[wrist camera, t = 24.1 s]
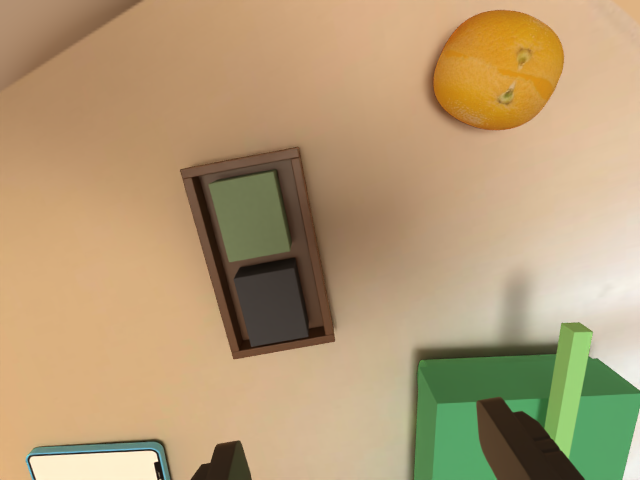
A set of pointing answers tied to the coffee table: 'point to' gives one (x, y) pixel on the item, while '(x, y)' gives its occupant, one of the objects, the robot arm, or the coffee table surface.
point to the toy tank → (526, 408)
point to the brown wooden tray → (301, 250)
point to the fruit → (498, 69)
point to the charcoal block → (272, 302)
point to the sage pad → (251, 215)
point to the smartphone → (99, 462)
